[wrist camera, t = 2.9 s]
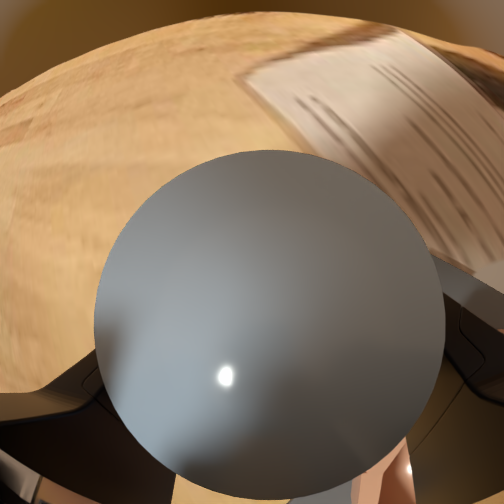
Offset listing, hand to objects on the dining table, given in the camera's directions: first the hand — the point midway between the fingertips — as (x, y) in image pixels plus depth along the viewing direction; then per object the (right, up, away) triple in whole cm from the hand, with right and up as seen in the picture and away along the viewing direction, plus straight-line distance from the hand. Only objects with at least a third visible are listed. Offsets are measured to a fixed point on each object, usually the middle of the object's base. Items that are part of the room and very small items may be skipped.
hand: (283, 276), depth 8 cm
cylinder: (+2, -3, +6) cm, 7 cm away
